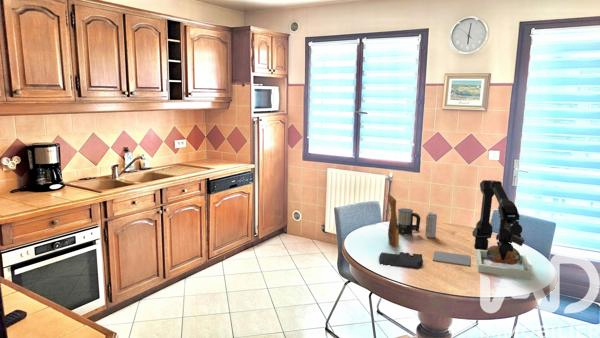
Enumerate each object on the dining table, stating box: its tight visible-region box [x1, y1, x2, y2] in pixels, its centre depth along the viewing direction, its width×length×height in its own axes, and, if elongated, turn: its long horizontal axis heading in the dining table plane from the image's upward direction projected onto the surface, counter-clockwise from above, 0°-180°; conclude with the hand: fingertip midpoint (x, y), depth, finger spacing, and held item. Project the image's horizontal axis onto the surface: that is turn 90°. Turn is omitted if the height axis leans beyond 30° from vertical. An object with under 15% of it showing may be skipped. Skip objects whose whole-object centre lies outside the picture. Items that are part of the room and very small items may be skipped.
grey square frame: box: [476, 248, 533, 280], centre depth 205 cm, size 23×23×4 cm
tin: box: [486, 245, 521, 266], centre depth 205 cm, size 15×3×8 cm, turn 68°
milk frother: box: [397, 207, 421, 235], centre depth 259 cm, size 14×16×15 cm
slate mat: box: [432, 250, 471, 267], centre depth 215 cm, size 18×14×1 cm
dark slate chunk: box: [378, 251, 424, 270], centre depth 210 cm, size 15×22×5 cm
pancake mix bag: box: [387, 193, 400, 248], centre depth 237 cm, size 7×19×28 cm, turn 173°
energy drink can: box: [424, 211, 438, 239], centre depth 249 cm, size 6×6×15 cm
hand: (502, 258), depth 205 cm, fingers closed on tin, 2 cm apart
